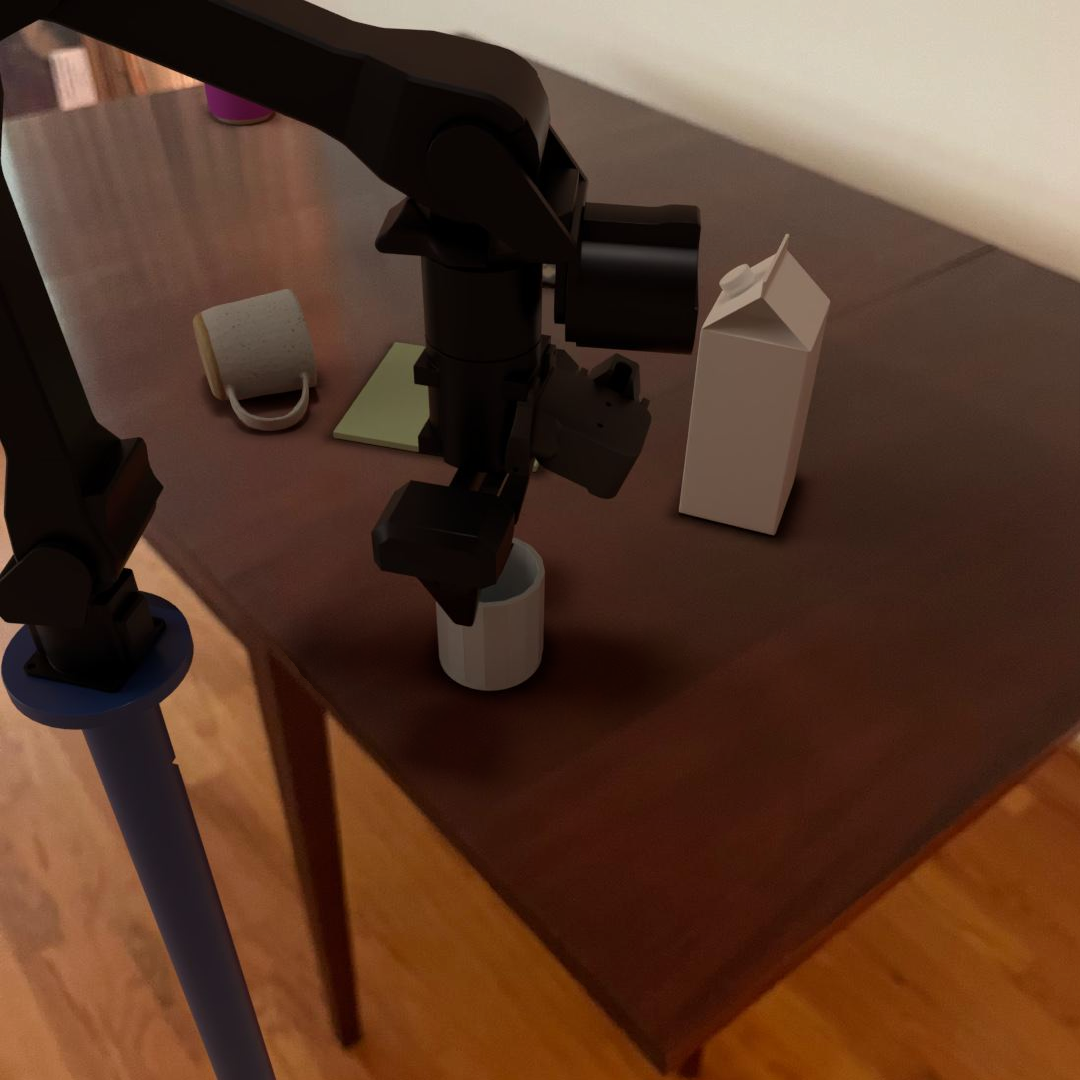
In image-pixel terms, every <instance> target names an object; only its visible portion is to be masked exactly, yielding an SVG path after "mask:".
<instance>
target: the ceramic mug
mask: <svg viewBox="0 0 1080 1080" xmlns="http://www.w3.org/2000/svg"><path fill="white" fill-rule="evenodd" d="M192 327H193V332H194V337H195V341H196V344H197V349H198V352H199V356H200V359H201V362H202V366H203V368H204V372H205V375H206V379H207V381H208V385H209V387H210V390H211V393H212V395H213V396H214V397H215V398H216V399H218V400H220V401H230V405H231V408H232V410H233V411H234V413H235V415H236V416H237V417H238V418H239V420H240V421H242V423H244V424H245V425H246V426H248V427H249V428H252V429H255V430H259V431H263V432H275V431H281V430H286V429H288V428H290V427H292V426H295V425H296V424H298V422H299V421H300V420H301V419H302V418H303V417H304V415H305V414H306V412H307V410H308V406H309V399H310V388H313V387H316V386H317V384H318V371H317V370H318V368H317V364H316V363H317V362H316V357H315V352H314V347H313V344H312V343H313V342H312V340H311V335H310V333H309V328H308V325H307V322H306V319H305V316H304V313H303V310H302V307H301V304H300V302H299V300H298V297H297V295H296V293H295V292H294V290H292V289H291V288H284V289H280V290H275V291H273V292H268V293H265V294H261V295H256V296H252V297H248V298H245V299H241V300H236V301H232V302H228V303H223V304H218V305H215V306H212V307H209V308H207V309H205V310H203V311H200V312H198V313H196V314H195V315H194V317H193V320H192ZM299 390H302V392H301V397H300V399H299V400H298V402H297V403H296V405H295V406H294V407H293V408H292V410H291V411H289V412H288V413H287V414H285V415H283V416H277V417H263V416H258V415H256V414H251V413H250V412H248V411H247V410H246V409H245V408H244V407H243V406H241V404H240V402H239V401H241V400H247V399H252V398H257V397H261V396H268V395H276V394H282V393H288V392H289V393H290V392H294V391H299Z"/></svg>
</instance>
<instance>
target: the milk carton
mask: <svg viewBox="0 0 1080 1080" xmlns="http://www.w3.org/2000/svg"><path fill="white" fill-rule="evenodd" d="M790 236H791V235H790V233H785V235H784V237H783V239H782V241H781V243H780V245H779V248H778V250H777V251H776V253H774V254H773V255H771V256H769V257H767V258H765V259H764V260H762V261H760V262H758V263H757V264H755V265H753V266H751V267H750V265H749V264H748V263H742V264H741V265H738V266H736V267H734V268H732V269H731V270H730V271H728V272H727V273H726V274H725V275H723V276H722V278H721V279H720V280H719V283H718V285H719V286H720V288H721V292H720V294H719V295H718V297H717V299H716V301H715V303H714V305H713V307H712V308H711V310H710V311H709V314H708V315H707V317H706V319H705V321H704V323H703V325H702V327H701V329H700V334H699V342H698V348H697V349H698V350H697V359H696V365H695V366H696V367H695V374H694V381H693V383H694V384H693V390H692V391H693V392H692V398H691V408H690V414H689V424H688V433H687V441H686V449H685V456H684V457H685V458H684V466H683V474H682V482H681V490H680V496H679V497H680V498H679V507H678V512H679V513H680V514H684V515H688V516H692V517H697V518H701V519H704V520H709V521H712V522H717V523H721V524H726V525H729V526H733V527H737V528H742V529H745V530H749V531H754V532H758V533H762V534H767V535H771V536H775V535H776V533H777V531H778V527H779V525H780V522H781V519H782V517H783V514H784V510H785V508H786V505H787V502H788V501H789V497H790V495H791V492H792V488H793V486H794V482H795V479H796V473H797V468H798V464H799V458H800V453H801V448H802V445H803V444H802V443H803V439H804V434H805V428H806V424H807V418H808V414H809V409H810V403H811V399H812V394H813V390H814V384H815V379H816V374H817V370H818V365H819V359H820V355H821V349H822V346H823V341H824V340H823V339H824V335H825V330H826V326H827V320H828V316H829V311H830V310H829V309H830V305H831V299H830V298H829V297H828V296H827V295H826V294H825V292H824V291H823V290H822V289H821V288H820V286H819V285H818V284H817V283H816V282H815V281H814V280H813V278H812V277H811V276H810V275H809V274H808V272H807V271H806V270H805V269H804V268H803V267H802V266H801V264H800V263H799V262H798V261H797V260H796V258H795V257H794V256H793V255H792V254H791V252H790V251H789V250H788V245H789V240H790Z"/></svg>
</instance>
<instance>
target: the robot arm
mask: <svg viewBox="0 0 1080 1080" xmlns="http://www.w3.org/2000/svg"><path fill="white" fill-rule="evenodd" d="M38 21H45V22H50V23H53V24H56V25H58V26H61V27H64V28H66V29H69V30H71V31H73V32H76V33H79V34H80V35H84V36H86V37H88V38H91V39H94V40H96V41H99V42H101V43H103V44H106V45H108V46H111V47H114V48H116V49H119V50H121V51H123V52H126V53H129V54H131V55H133V56H136V57H138V58H141V59H143V60H146V61H148V62H151V63H153V64H156V65H158V66H161V67H163V68H165V69H168V70H171V71H173V72H175V73H178V74H181V75H183V76H186V77H188V78H191V79H193V80H196V81H198V82H200V83H203V84H204V83H205V84H208V85H210V86H213V87H215V88H218V89H220V90H223V91H225V92H228V93H230V94H233V95H235V96H238V97H240V98H243V99H245V100H248V101H250V102H253V103H255V104H257V105H260V106H262V107H265V108H267V109H270V110H272V111H273V112H275V113H277V114H280V115H282V116H285V117H287V118H290V119H292V120H295V121H298V122H300V123H302V124H305V125H306V126H307V125H308V126H310V127H312V128H314V129H317V130H319V131H320V132H322V133H324V134H325V135H327V136H328V137H330V138H332V139H333V140H335V141H337V142H339V143H341V144H342V145H343V146H344V147H345V148H347V149H348V150H349V151H350V152H351V153H352V155H354V157H356V158H357V159H358V160H359V161H360V162H361V163H362V164H364V166H366V168H367V169H368V170H369V171H370V172H371V173H372V174H373V175H374V176H376V177H377V178H378V179H379V180H380V181H381V182H383V183H384V184H386V185H388V186H390V187H391V188H393V189H394V190H396V191H398V192H400V193H402V194H404V196H405V197H404V198H402V200H400V201H399V202H398V203H397V204H394V206H392V207H390V208H389V209H388V211H387V213H386V215H385V218H384V220H383V222H382V225H381V227H380V229H379V231H378V233H377V235H376V238H375V240H374V247H375V249H376V251H377V252H379V253H380V254H385V255H386V254H388V255H398V256H399V255H403V256H415V257H420V267H421V268H420V269H421V285H422V286H421V287H422V303H423V305H422V306H423V307H422V308H423V322H424V323H423V324H424V325H423V326H424V340H425V343H424V344H425V346H426V347H425V349H424V350H423V352H422V353H421V355H420V356H419V358H418V360H417V361H416V363H415V364H414V366H413V371H414V384H418V385H424V386H428V397H429V415H430V416H429V418H428V420H427V421H426V423H425V425H424V427H423V428H422V430H421V432H420V433H419V435H418V448H419V452H418V453H420V454H425V455H430V456H431V455H432V456H437V457H442V460H443V462H444V463H446V465H449V466H450V467H453V468H455V469H456V472H455V474H454V476H453V477H452V479H451V481H450V483H449V485H443V484H437V483H431V482H425V481H420V480H414V479H410V480H409V481H407V482H406V483H405V484H403V485H402V486H401V487H399V488H397V489H396V490H395V491H394V492H393V493H392V496H391V497H390V499H389V501H388V503H387V504H386V506H385V508H384V509H383V511H382V513H381V514H380V516H379V518H378V520H377V522H376V523H375V525H374V527H373V528H372V530H371V532H370V536H371V545H372V554H373V562H374V563H375V565H376V566H377V568H378V569H379V570H380V571H381V572H387V573H390V574H391V573H392V574H398V575H402V576H407V577H413V578H416V579H417V580H418V581H419V582H420V583H421V584H422V586H423V587H424V588H425V590H426V591H427V592H428V593H429V594H430V595H431V597H432V598H433V599H434V601H435V600H436V602H437V603H438V604H439V605H440V607H441V608H442V609H443V610H444V612H445V613H446V614H447V615H448V616H449V618H450V619H451V620H452V621H453V623H455V624H457V625H462V626H467V627H471V626H473V624H474V622H475V618H476V613H477V609H478V604H479V600H480V595H481V590H482V589H484V588H487V587H489V586H492V585H495V584H496V583H497V581H498V578H499V576H500V575H501V573H502V571H503V569H504V567H505V564H506V562H507V560H508V557H509V555H510V553H511V550H512V548H513V545H514V543H512V539H513V537H514V534H515V526H516V525H517V524H518V523H519V519H520V515H521V512H522V509H523V505H524V502H525V498H526V494H527V490H528V487H529V484H530V480H531V476H532V474H533V471H532V470H533V467H534V463H535V460H537V462H538V463H539V466H541V467H542V468H543V469H546V470H547V471H549V472H551V473H554V474H556V475H558V476H559V477H561V478H564V479H566V480H568V481H570V482H572V483H574V484H576V485H578V486H581V487H582V488H585V489H586V490H587V492H588V494H590V495H592V496H594V497H597V498H599V499H604V500H610V499H611V500H612V499H614V498H615V497H617V495H618V493H619V492H620V490H621V488H622V487H623V485H624V483H625V481H626V479H627V478H628V476H629V474H630V473H631V471H632V469H633V467H634V466H635V464H636V462H637V460H638V459H639V457H640V455H641V453H642V451H643V448H644V445H645V442H646V438H647V437H648V433H649V430H650V426H651V424H652V418H653V417H652V414H651V412H650V410H649V409H648V408H649V405H650V402H651V400H650V399H648V398H646V397H643V398H642V399H641V401H640V394H641V373H640V370H641V369H640V364H639V363H638V362H636V361H635V360H632V359H630V358H628V357H626V356H624V355H622V354H620V353H617V352H616V353H614V354H612V355H610V356H609V357H608V358H605V359H604V360H603V361H601V362H600V363H598V364H597V365H595V366H594V367H592V368H591V370H590V371H589V369H588V368H585V367H583V366H582V367H581V368H580V365H579V364H578V362H576V361H575V360H574V359H573V358H572V356H571V355H570V354H569V353H568V352H567V351H566V350H565V349H563V348H557V344H554V343H552V335H550V334H543V332H542V325H543V283H544V282H543V264H552V265H556V270H555V284H554V292H553V322H554V324H555V325H564V342H566V343H575V347H576V348H577V347H578V348H590V349H603V350H618V351H632V352H642V353H643V352H644V353H657V354H658V353H661V354H672V355H673V354H674V355H686V356H691V355H692V354H693V352H694V348H695V347H694V346H695V340H696V333H697V327H698V319H699V318H698V317H699V305H700V304H699V303H700V302H699V253H700V252H699V251H700V241H701V240H700V239H701V232H702V213H701V212H702V211H701V209H700V207H699V206H698V205H692V204H678V203H673V204H671V203H670V204H665V205H658V206H645V205H634V204H633V205H631V204H619V203H617V204H616V203H602V202H589V201H587V198H588V197H587V196H588V190H589V184H590V183H589V179H588V177H587V176H586V175H585V173H584V172H583V170H582V168H581V167H580V166H579V164H578V163H577V161H576V159H575V158H574V157H573V155H572V154H571V152H570V151H569V149H568V148H567V147H566V145H565V144H564V143H563V141H562V140H561V138H560V136H559V135H558V134H557V133H558V132H556V131H555V129H554V127H553V126H552V125H551V110H550V101H549V96H548V94H547V93H546V92H547V91H546V89H545V88H544V85H543V83H542V80H541V78H540V77H539V73H538V71H537V69H535V68H534V66H533V65H532V64H531V63H530V62H529V61H528V60H527V59H525V58H524V57H522V56H521V55H519V54H518V53H516V52H515V51H513V50H512V49H509V48H507V47H503V46H501V45H497V44H492V43H489V42H484V41H479V40H477V39H472V38H467V37H463V36H458V35H454V34H450V33H445V32H441V31H439V30H431V29H416V28H415V29H413V28H397V27H396V28H394V27H393V28H392V27H382V26H377V25H373V24H369V23H364V22H360V21H357V20H352V19H350V18H347V17H345V16H343V15H340V14H338V13H336V12H333V11H331V10H329V9H327V8H324V7H322V6H319V5H317V4H314V3H312V2H310V1H307V0H0V42H2V41H3V40H5V39H7V38H9V37H10V36H12V35H14V34H16V33H18V32H20V31H21V30H23V29H25V28H27V27H28V26H31V25H32V24H35V23H36V22H38ZM4 100H5V91H4V85H3V80H2V75H1V73H0V444H1V447H2V448H3V451H4V456H5V475H4V476H5V477H4V493H3V494H4V496H3V519H4V522H5V526H6V529H7V534H8V538H9V542H10V546H11V550H12V555H11V557H10V558H9V559H8V560H7V562H6V564H5V565H4V567H3V568H2V570H1V572H0V618H1V620H2V621H3V622H4V623H6V624H15V625H24V624H27V626H28V629H29V631H30V634H31V636H32V639H33V641H34V644H35V646H36V649H37V650H36V651H35V653H34V654H33V655H32V656H31V657H30V659H29V660H28V661H27V662H26V663H25V665H24V666H23V670H24V672H25V674H26V675H27V676H30V677H35V678H40V679H44V680H49V681H54V682H59V683H64V684H69V685H73V686H78V687H83V688H88V689H93V690H98V691H102V692H107V693H117V692H119V691H120V690H121V689H122V688H123V687H124V685H125V684H126V682H127V681H128V680H129V678H130V677H131V676H132V674H133V673H134V671H135V670H136V669H137V667H138V666H140V664H141V663H142V662H143V660H144V659H145V658H146V656H147V655H148V653H149V652H150V651H151V649H152V648H153V646H154V645H155V644H156V642H157V641H158V638H159V637H160V635H161V634H162V633H163V631H164V630H165V628H166V624H165V620H164V619H162V618H158V617H153V616H151V613H150V610H149V607H148V603H147V600H146V597H145V595H144V593H140V592H139V591H140V590H139V586H138V584H137V580H136V577H135V573H134V571H133V569H132V568H130V567H129V568H128V567H126V565H127V563H128V561H129V560H130V558H131V556H132V554H133V553H134V550H135V549H136V548H137V545H138V543H139V542H140V540H141V538H142V536H143V534H144V532H145V530H146V529H147V527H148V526H149V523H150V522H151V520H152V518H153V516H154V514H155V512H156V508H157V501H158V499H159V497H160V495H161V494H162V493H163V490H164V488H165V487H164V485H163V484H162V482H160V480H159V479H158V478H157V476H156V475H155V472H154V471H153V469H152V467H151V464H150V460H149V452H148V446H147V443H146V441H145V440H144V438H142V437H140V436H135V437H128V438H123V439H121V438H120V437H119V436H117V435H116V434H115V433H113V432H112V431H111V430H109V429H108V428H107V427H106V426H104V425H102V424H101V423H100V422H98V420H97V418H96V417H95V415H94V412H93V410H92V408H91V404H90V402H89V400H88V397H87V394H86V391H85V389H84V386H83V384H82V381H81V377H80V375H79V373H78V370H77V367H76V364H75V362H74V359H73V356H72V354H71V351H70V348H69V346H68V343H67V340H66V338H65V335H64V332H63V330H62V327H61V325H60V322H59V319H58V317H57V314H56V311H55V308H54V306H53V303H52V301H51V297H50V295H49V292H48V290H47V287H46V284H45V282H44V279H43V277H42V274H41V271H40V268H39V266H38V263H37V260H36V257H35V255H34V252H33V250H32V247H31V244H30V242H29V239H28V235H27V233H26V230H25V227H24V225H23V222H22V220H21V218H20V215H19V212H18V209H17V206H16V204H15V201H14V198H13V196H12V193H11V190H10V188H9V185H8V182H7V180H6V176H5V174H4V170H3V165H2V145H3V127H4V125H3V122H4V105H5V104H4V103H5V101H4ZM156 625H158V626H156ZM32 668H33V669H32ZM114 684H116V685H114ZM112 685H114V686H112Z"/></svg>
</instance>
